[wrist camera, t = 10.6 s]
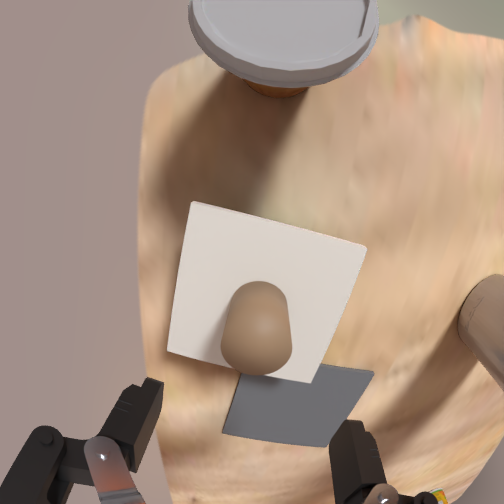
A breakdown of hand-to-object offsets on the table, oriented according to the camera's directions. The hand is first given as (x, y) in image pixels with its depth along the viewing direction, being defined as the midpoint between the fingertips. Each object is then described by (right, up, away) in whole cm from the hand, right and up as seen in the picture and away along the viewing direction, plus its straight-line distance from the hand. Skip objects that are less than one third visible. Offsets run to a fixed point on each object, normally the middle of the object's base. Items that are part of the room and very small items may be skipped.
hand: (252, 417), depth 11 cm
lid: (0, +3, +10) cm, 11 cm away
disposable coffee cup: (+2, +22, +10) cm, 24 cm away
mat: (+5, -11, +20) cm, 23 cm away
